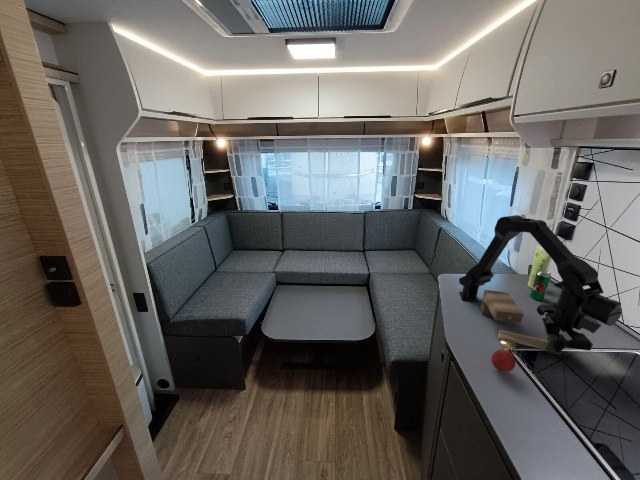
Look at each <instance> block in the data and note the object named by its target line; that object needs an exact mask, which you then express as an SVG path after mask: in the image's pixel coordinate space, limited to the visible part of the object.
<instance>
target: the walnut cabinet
mask: <svg viewBox="0 0 640 480" xmlns="http://www.w3.org/2000/svg"><path fill="white" fill-rule="evenodd" d="M479 311H480V313H481V315H484V316H491V317H493V318H494V320H495V321H505V322H510V323H519V324H522V321H523V318H524V315H525V314H524V312H523V311H522V310H521V308H520V307H519V305H518V304H517V303H516V302H515V300H514V298H512V296H511V295H510V294H509V292H508V291H507V292H506V291H498V290H497V291H496V290H488V289H487V290H485V289H484V291H483V296H482V300H481V304H480V308H479Z"/></svg>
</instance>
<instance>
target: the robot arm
mask: <svg viewBox="0 0 640 480" xmlns="http://www.w3.org/2000/svg"><path fill="white" fill-rule="evenodd" d="M493 231H494V237H493V238H492V240H491V241H490V243H489V244H488V246H487V248H486V250H485V251H484V253H483V254H482V256H481V258H480V260H479V261H478V263H476V265H474V266H472V267H471V268H470V269H468V271H467V272H466V273H465V275H464V276H462V277H459V278H458V281H459V285H462V290H461V291H458V294H459V296H460V298H461V300H462V301H466V302H474V303H479V302H480V300H479V298H478V294H479V293H478V292H479V289H480V288H479V287H480V286H485V284H487V283H490V282H491V280H492V279H493V277H494V276H495V274H494V273H492V268H493V267H494V265H495V263H496V262H497V261H498V259H499V257H500V256H501V254H502V252H503V251H504V250H505V248H506V247H507V245H508V244H509V242H510V241H511V240H512V239H514V238H516V237H517V236H518V235H519V234H520V233H529V234H530V235H531V236H532V237H533V239H534V240H535V241H536V242H537V244H539V245H541V246H542V248H543V249H544V250H545V251H546V252H547V254H548V255H549V256H550V257H551V260H552V261H553V262H554V264H555V265H556V270H557V274H558V275H559V277H560V278H561V281H560V282H556V283H553V286H555V287H557V288H559V289H561V290H560V293H559V297H558V300H557V302H552V304H543V303H541V304H539V305H538V306H537V308H536V312H537V313H538V315H539V316H544V315H545V317H542V318H541V320H542V322H543V326H544V330H545V333H546V336H547V337H548V334H553V335H554V346H555V351H556V352H560V351H561V350H562V351H563V350H564V349H566V348H568V349H574V350H583V351H592V348H593V346H594V344H593V342H592V341H591V340H590V339H589V338H588V337H587V336H586V335H585V334H584V333H582V332H578V331H576V330H582V329H583V330H586V331H588V332H590V333H591V334H595V333H596V332H597V331H598V330H599V329H600V328H601V327H602V324H605V325H606V326H608V327H610V326H613V325H615V324H616V323H617V322H618V321H619V319H620V318H621V316H622V314H623V312H622V307H621V305H622V303H621V302H620V301H618V300H614V299H611V298H609V297H606V296H605V295H602V294H604V290H603V287H602V286H601V283H600V281H599V279H598V276H599V273H598V271H597V270H596V269H595V268H594V267H593V266H592V265H590V263H588V262H587V261H585V260H584V259H581V258H580V257H577V256H576V255H574V253H572V252H571V250H570V249H569V248H568V247H567V246H566V245H565V244H564V243H563V242H562V241H561V240H560V238H559V237H558V236H557V235H556V234H555V232H553V231H552V230H551V228H550V227H549V226H548V224H547V222H546V221H544V220H542V219H533V218H527V217H526V218H525V217H522V216H521V215H518V214H516V215H515V214H514V215H507V216H501V217H499V218H498V219H497V221H496V224H495V227H494V230H493ZM587 286H589V287H588V288H585V289H584V287H587ZM574 329H576V330H574ZM547 337H546V338H547Z"/></svg>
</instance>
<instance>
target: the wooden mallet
mask: <svg viewBox="0 0 640 480" xmlns="http://www.w3.org/2000/svg"><path fill="white" fill-rule="evenodd" d="M502 338H507V339H510V340H512V341H514V342H515V344H519V345H523V346H527V347H533V348H537V349H540V350H544V351H546V353H549V354H553V355H557V356H561V354H562V352H563V350H561V351H560V352H556V351H555V346H554V335H553V334H548V337H546V339H543V338H540V337H535V336H530V335H526V334H521V333H516V332H512V331H508V330H505V329H504V330H503V329H499V331H498V336H497V339H498V340H501V339H502Z"/></svg>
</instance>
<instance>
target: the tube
mask: <svg viewBox="0 0 640 480" xmlns="http://www.w3.org/2000/svg"><path fill="white" fill-rule="evenodd" d="M551 260H552V258H551V257H550V256H549V255H548V254H547V252H546V251H545V250H544V249H543V248H542V246H541V245H540V244H539V243H537V244H536V248H535V254H534V259H533V263H532V267H531V269H530V275H529V280H528V283H527V287H529V288H531V289H532V286H533V282H534V279H535V275H536V273H537V272H538V270H545V271H548V267H549V265H550V261H551Z"/></svg>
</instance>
